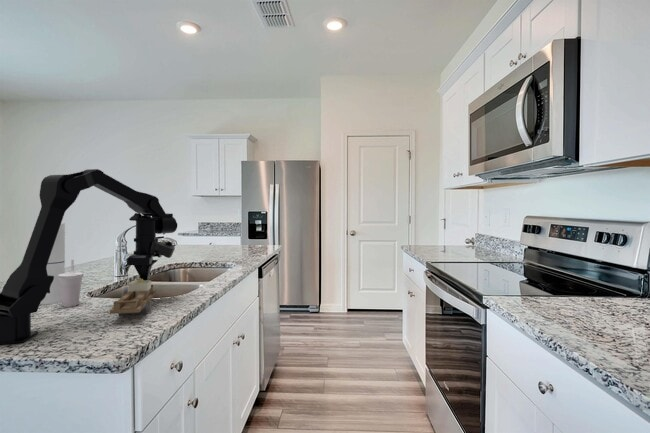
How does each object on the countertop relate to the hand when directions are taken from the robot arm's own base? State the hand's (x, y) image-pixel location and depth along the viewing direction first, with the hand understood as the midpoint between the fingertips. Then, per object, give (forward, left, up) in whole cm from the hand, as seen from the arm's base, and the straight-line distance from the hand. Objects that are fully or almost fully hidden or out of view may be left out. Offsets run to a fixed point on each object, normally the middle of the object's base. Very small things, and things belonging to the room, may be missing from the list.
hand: (145, 283), depth 111 cm
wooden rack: (-11, 0, -6) cm, 13 cm away
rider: (-6, 0, -2) cm, 7 cm away
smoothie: (+1, +21, -6) cm, 22 cm away
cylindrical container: (+7, +29, -6) cm, 30 cm away
